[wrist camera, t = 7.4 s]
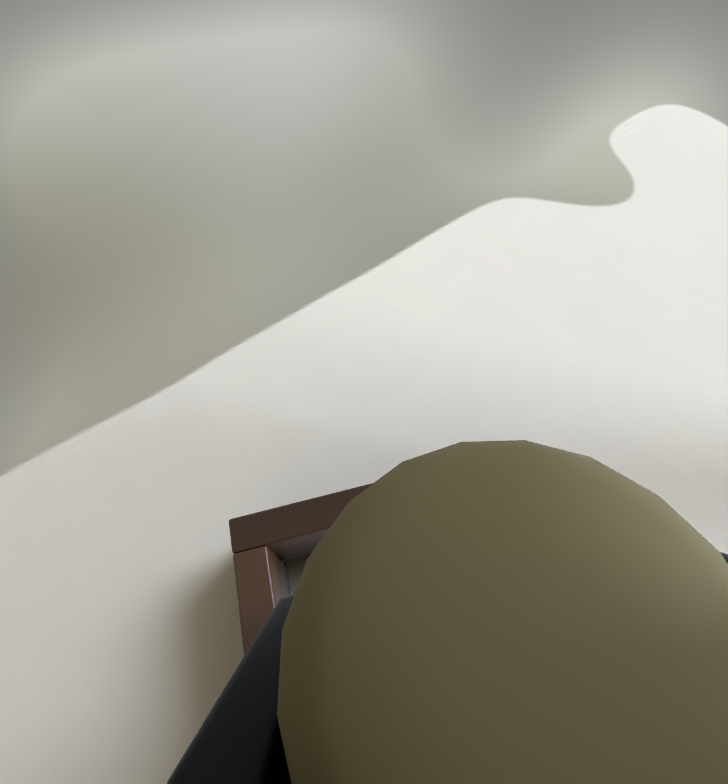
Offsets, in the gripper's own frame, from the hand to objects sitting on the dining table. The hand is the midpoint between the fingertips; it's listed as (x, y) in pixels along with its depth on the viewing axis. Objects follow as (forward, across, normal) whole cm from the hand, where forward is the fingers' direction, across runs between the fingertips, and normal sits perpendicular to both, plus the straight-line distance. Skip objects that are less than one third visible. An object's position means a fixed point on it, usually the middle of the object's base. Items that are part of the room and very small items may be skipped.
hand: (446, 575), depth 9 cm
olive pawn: (+4, 0, +6) cm, 7 cm away
